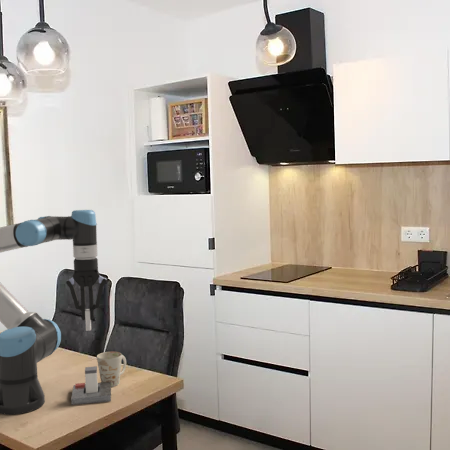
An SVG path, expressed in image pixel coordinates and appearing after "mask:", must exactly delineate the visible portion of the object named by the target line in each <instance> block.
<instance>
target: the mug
mask: <svg viewBox="0 0 450 450" xmlns="http://www.w3.org/2000/svg"><path fill="white" fill-rule="evenodd" d="M96 360H97V366H98V367H97V368H98V373H99V378H100V383H103V382H111V388H112V387H116V386H118V385H119V384H120V383H121V380H120V379H121V376H122V375H123V374H124V373H125V372H126V371H125V370H126V368H127V359H126V357H125V356H124V355H123V354H122V353H121V352H119V351H105V352H101V353H98V354H97V355H96ZM122 362H123V366H122Z"/></svg>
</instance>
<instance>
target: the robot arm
mask: <svg viewBox="0 0 450 450" xmlns="http://www.w3.org/2000/svg"><path fill="white" fill-rule="evenodd" d="M71 211H72V212H71V215H70V216H69V215H68V216H56V215H55V216H52V215H48V216H47V215H46V216H39V217H38V218H37V219H30V220H29V219H28V220H24V221H23V222H19V223H14V224H9V225H6V226H2V227H1V226H0V253H4V252H9V251H14V250H18V249H21V248H27V247H35V246H38V245H41V244H44V243H49V242H52V241H53V242H54V241H57V240H58V241H59V240H60V241H61V240H66V241H67V240H69V241H70V240H72V249H73V250H72V253H73V255H72V256H73V258H74V259H73V273H72V277H71V278H68V279H67V280H66V281H65V284H66V285H67V287H68V288H69V291H70V293H71V297H72V300H73V303H74V308H75V309H76V310H80V311H81V321H85V331H86V332H87V331H89V332H90V331H92V321H93V320H95V319H94V318H95V309H99V307H100V303H101V298H102V295H103V290H104V285H105V284H106V282H107V280H108V279H107V278H106V277H103V276H101V274H100V272H99V262H98V261H99V259H98V258H97V257H98V241H97V237H98V236H97V225H98V224H97V218H96V217H97V216H96V212H95V210H92V209H75V210H71ZM97 282H98V283H99V286H98V290H97V295H96V302H94V286H95V285H96V283H97ZM75 283H77V285H78V286H79V287H80V288H79V289H80V300H79V298H78V295H77V291H76V288H75ZM86 287H87V288H88V300H89V301H88V302H89V308H87V305H86ZM79 301H80V302H79ZM0 322H1V324H2V325H3V326H4V327H5V328H6V329H5V330H3V331H2V332H0V415H7V416H8V415H21V414H26V413H30V412H32V411H35V410H37V409H39V408H41V407H42V406H43V405H44V404H45V402H46V399H45V393H44V391H43V388H42V386H41V383H40V381H39V378H38V377H39V376H38V363H39V362H41V361H43V360H45V358H47V357H50V356H51V355H53V353H54V352H55V351H56V350H57V349H58V348H59V347H60V344H61V340H62V332H61V329H60V328H59V326H58V324H57V323H56V322H54V321H53V320H51V319H47V318H42V317H41V316H40V314H39V313H38V312H35V311H29V310H28V309H27V308H26V307H25V306H24V305H23V304H22V303H21V302H20V301H19V300H18V299H17V298H16V296H14V295H13V294H12V293H11V292H10V290H9V289H7V288H6V286H4V285H3V284H2V283H1V282H0Z"/></svg>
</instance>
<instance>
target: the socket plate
mask: <svg viewBox="0 0 450 450" xmlns="http://www.w3.org/2000/svg"><path fill="white" fill-rule="evenodd" d="M72 386H73V388H72V392H71V399H70V400H71V405H72V406H73V405H76V406H77V405H86V404H95V403H96V404H97V403H104V402H106V403H108V402H111V401H112V387H111V382H103V383H101V382H98V392H94V393H86V383H85V382H80V383H79V382H78V383H75V384H74V385H72Z"/></svg>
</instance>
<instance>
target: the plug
mask: <svg viewBox="0 0 450 450" xmlns="http://www.w3.org/2000/svg"><path fill="white" fill-rule="evenodd" d="M97 366H98V365H95V366H85V367H84V377H85V379H84V383H85V384H86V393H94V392H98V383H99V382H98V369H97V368H98V367H97Z"/></svg>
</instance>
